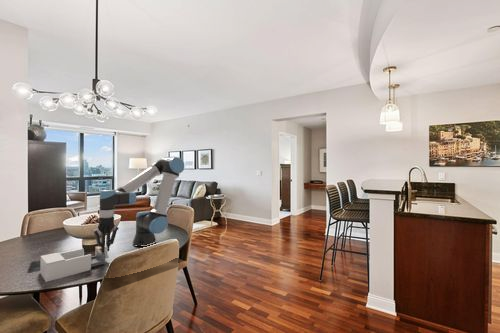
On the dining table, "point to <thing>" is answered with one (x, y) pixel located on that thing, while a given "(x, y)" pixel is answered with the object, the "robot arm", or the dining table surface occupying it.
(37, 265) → the smartphone
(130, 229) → the dining table surface
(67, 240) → the dining table surface
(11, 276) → the dining table surface
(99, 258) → the tray
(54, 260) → the white drawer housing
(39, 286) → the dining table surface
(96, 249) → the oak block
